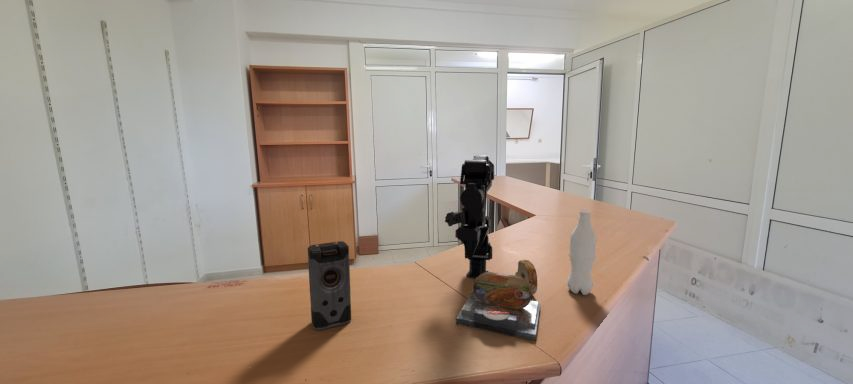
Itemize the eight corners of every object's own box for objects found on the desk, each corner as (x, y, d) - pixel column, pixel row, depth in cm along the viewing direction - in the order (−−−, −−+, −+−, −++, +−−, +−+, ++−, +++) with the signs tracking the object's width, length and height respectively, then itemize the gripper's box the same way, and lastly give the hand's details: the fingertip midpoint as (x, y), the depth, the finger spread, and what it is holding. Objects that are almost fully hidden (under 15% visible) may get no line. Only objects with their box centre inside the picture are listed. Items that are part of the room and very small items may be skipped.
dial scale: (472, 296, 97) (472, 282, 97) (539, 308, 90) (540, 293, 89) (453, 327, 81) (454, 310, 80) (534, 345, 74) (535, 326, 73)
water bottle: (566, 294, 99) (572, 212, 95) (566, 285, 105) (571, 208, 102) (593, 298, 96) (600, 214, 93) (591, 288, 103) (597, 210, 99)
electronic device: (314, 332, 79) (310, 252, 76) (310, 320, 84) (306, 245, 81) (352, 322, 83) (350, 246, 80) (347, 312, 88) (344, 240, 86)
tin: (472, 302, 89) (472, 272, 88) (475, 297, 92) (475, 268, 90) (530, 312, 83) (532, 281, 82) (531, 307, 86) (533, 276, 85)
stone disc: (539, 300, 95) (541, 267, 94) (526, 301, 95) (528, 267, 93) (525, 285, 105) (526, 255, 104) (514, 285, 105) (515, 255, 104)
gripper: (457, 196, 108) (457, 242, 110) (437, 206, 91) (437, 261, 93) (491, 198, 104) (490, 246, 106) (477, 209, 87) (476, 266, 89)
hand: (473, 254), depth 98 cm, fingers open, 9 cm apart
